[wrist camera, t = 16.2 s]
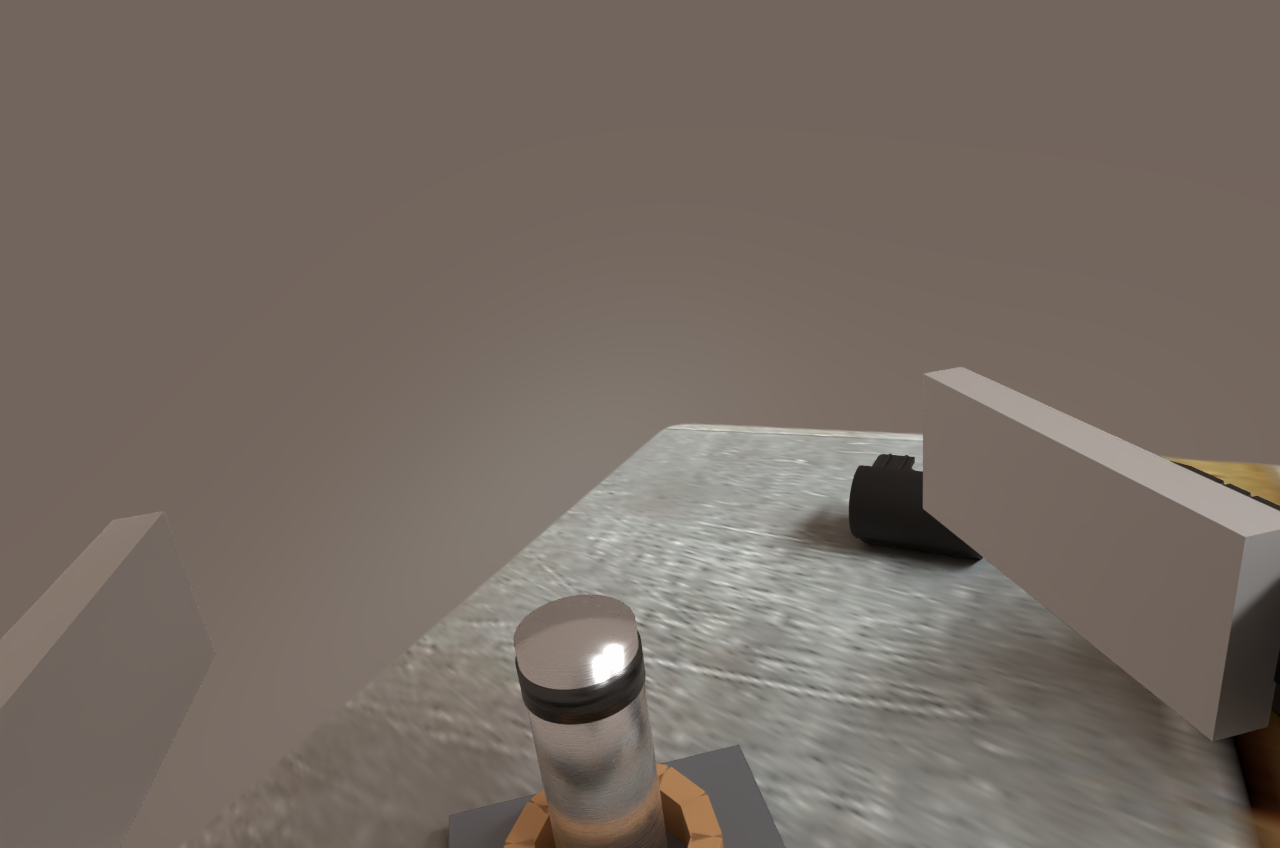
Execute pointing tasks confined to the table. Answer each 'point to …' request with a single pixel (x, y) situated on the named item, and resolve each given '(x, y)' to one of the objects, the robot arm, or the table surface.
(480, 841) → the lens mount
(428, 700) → the table surface
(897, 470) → the end cap
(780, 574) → the table surface
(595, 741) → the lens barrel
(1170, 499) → the robot arm
